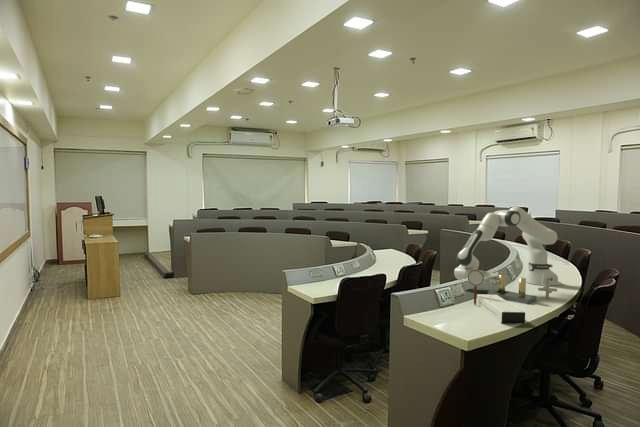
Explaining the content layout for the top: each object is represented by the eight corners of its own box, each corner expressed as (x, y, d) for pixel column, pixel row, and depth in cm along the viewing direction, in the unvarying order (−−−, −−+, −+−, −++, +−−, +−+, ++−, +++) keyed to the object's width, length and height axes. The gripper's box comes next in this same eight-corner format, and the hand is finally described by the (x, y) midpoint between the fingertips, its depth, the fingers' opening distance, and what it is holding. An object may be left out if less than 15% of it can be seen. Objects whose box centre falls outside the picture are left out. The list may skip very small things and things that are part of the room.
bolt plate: (487, 295, 252) (488, 275, 251) (496, 292, 260) (497, 272, 259) (528, 304, 234) (529, 281, 233) (536, 300, 242) (537, 278, 241)
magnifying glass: (466, 304, 233) (467, 269, 231) (467, 303, 234) (468, 269, 233) (482, 306, 228) (483, 271, 227) (483, 306, 229) (484, 270, 228)
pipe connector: (559, 300, 242) (560, 283, 242) (541, 299, 244) (541, 283, 244) (553, 296, 252) (553, 280, 251) (535, 295, 254) (536, 279, 253)
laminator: (476, 305, 233) (477, 294, 233) (498, 305, 233) (499, 294, 232) (501, 324, 199) (502, 312, 199) (527, 325, 199) (527, 312, 198)
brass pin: (502, 295, 253) (503, 274, 252) (506, 296, 249) (506, 275, 249) (497, 295, 253) (497, 274, 252) (500, 297, 249) (501, 275, 248)
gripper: (470, 274, 254) (492, 277, 244) (486, 270, 268) (507, 273, 258) (470, 284, 255) (492, 288, 245) (485, 279, 268) (507, 283, 258)
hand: (500, 280), depth 251 cm, fingers open, 8 cm apart
